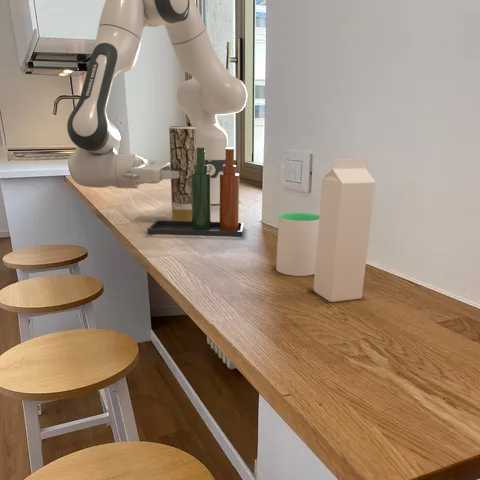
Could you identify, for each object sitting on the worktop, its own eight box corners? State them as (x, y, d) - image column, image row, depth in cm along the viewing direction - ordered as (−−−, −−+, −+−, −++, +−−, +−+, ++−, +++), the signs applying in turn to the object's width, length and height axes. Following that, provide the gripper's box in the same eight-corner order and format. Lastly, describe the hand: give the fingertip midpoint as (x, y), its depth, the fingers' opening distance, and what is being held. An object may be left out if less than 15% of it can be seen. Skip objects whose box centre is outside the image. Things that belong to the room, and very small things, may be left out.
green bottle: (193, 228, 128) (191, 146, 120) (211, 228, 128) (211, 147, 120) (190, 232, 124) (189, 147, 116) (209, 232, 124) (209, 148, 116)
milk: (312, 291, 85) (322, 157, 77) (343, 288, 87) (355, 156, 79) (331, 303, 80) (343, 160, 72) (362, 299, 82) (378, 159, 74)
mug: (323, 261, 103) (327, 211, 99) (342, 272, 96) (348, 218, 92) (269, 265, 99) (272, 213, 95) (286, 277, 92) (289, 221, 88)
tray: (156, 227, 132) (156, 220, 131) (243, 229, 131) (243, 222, 130) (147, 236, 121) (147, 229, 120) (242, 239, 121) (242, 231, 120)
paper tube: (186, 226, 133) (184, 126, 123) (167, 223, 136) (163, 125, 127) (201, 222, 138) (200, 126, 129) (182, 219, 142) (180, 125, 132)
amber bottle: (220, 229, 128) (220, 147, 120) (238, 229, 128) (240, 147, 120) (218, 233, 123) (219, 148, 116) (237, 233, 123) (239, 149, 116)
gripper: (119, 162, 122) (175, 163, 121) (138, 156, 141) (186, 157, 140) (121, 188, 124) (176, 190, 124) (139, 179, 143) (187, 180, 143)
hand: (182, 172), depth 132 cm, fingers open, 8 cm apart
